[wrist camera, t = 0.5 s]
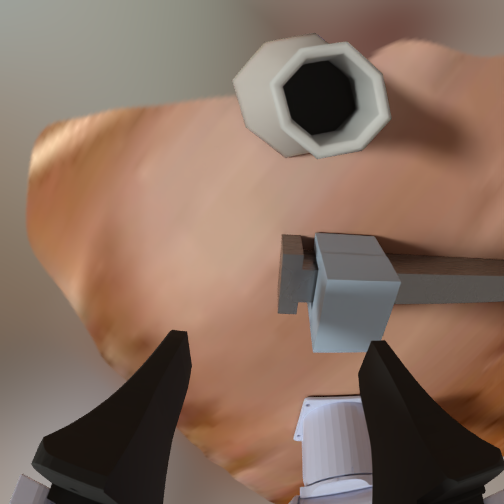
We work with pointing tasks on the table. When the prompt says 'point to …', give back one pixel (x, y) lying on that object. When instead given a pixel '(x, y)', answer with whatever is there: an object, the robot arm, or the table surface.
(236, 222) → the table surface
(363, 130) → the flask
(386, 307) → the block
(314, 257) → the rail
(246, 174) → the table surface
